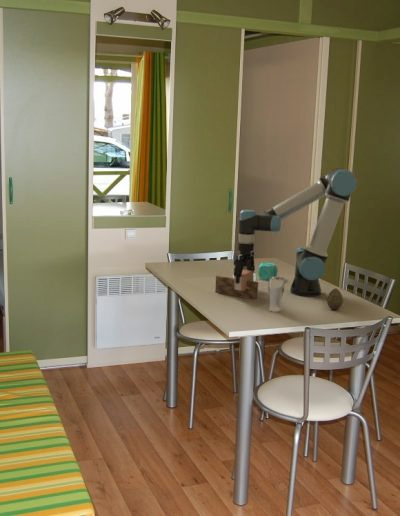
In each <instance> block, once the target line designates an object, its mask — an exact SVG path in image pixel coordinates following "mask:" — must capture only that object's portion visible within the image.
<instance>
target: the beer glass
mask: <svg viewBox="0 0 400 516" xmlns="http://www.w3.org/2000/svg"><path fill="white" fill-rule="evenodd" d="M284 291H285V277H282V276H276V277H270V279H269V280H268V299H269V304H268V308H267V310H268V312H271V311H272V312H271V313H281V312H282V299H283V297H284ZM280 311H281V312H280Z"/></svg>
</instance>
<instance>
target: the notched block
mask: <svg viewBox="0 0 400 516" xmlns="http://www.w3.org/2000/svg"><path fill="white" fill-rule="evenodd" d="M254 273H255V270H254V271H250V270H243V271H242V274H241V277H242V282H241V291H244V290H246V288H248V289H249V282H250V281H254ZM233 278H234V289H235V285H236V276H235V277H234V276H233ZM235 290H236V289H235Z"/></svg>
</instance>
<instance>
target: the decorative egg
mask: <svg viewBox="0 0 400 516" xmlns="http://www.w3.org/2000/svg"><path fill="white" fill-rule="evenodd" d="M343 301H344V299H343V295H342V293H341V291H340V290H339V289H338V288H333V289H332V290H331V291H330V292H329V293H328V295H327V297H326V304H327V307H328V308H329V309H331V310H333V311H336V310H339V309H340V308H341V307H342V305H343Z"/></svg>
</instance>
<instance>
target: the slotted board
mask: <svg viewBox="0 0 400 516" xmlns="http://www.w3.org/2000/svg"><path fill="white" fill-rule="evenodd" d="M214 288H215V290H214V292H215V293H220V294H225V295H230V296H235V297H240V298H241V297H242V298H247V299H250V300H251V299H252V300H257V299H258V297H259V296H258V294H259V293H258V292H259V282H258V281H255V280H253V281H250V282H249V288H246V290H244V291H241V290H235V289H234V277H231V276H230V277H229V276H224V275H218V274H217V275H216V276H215V287H214Z"/></svg>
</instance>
